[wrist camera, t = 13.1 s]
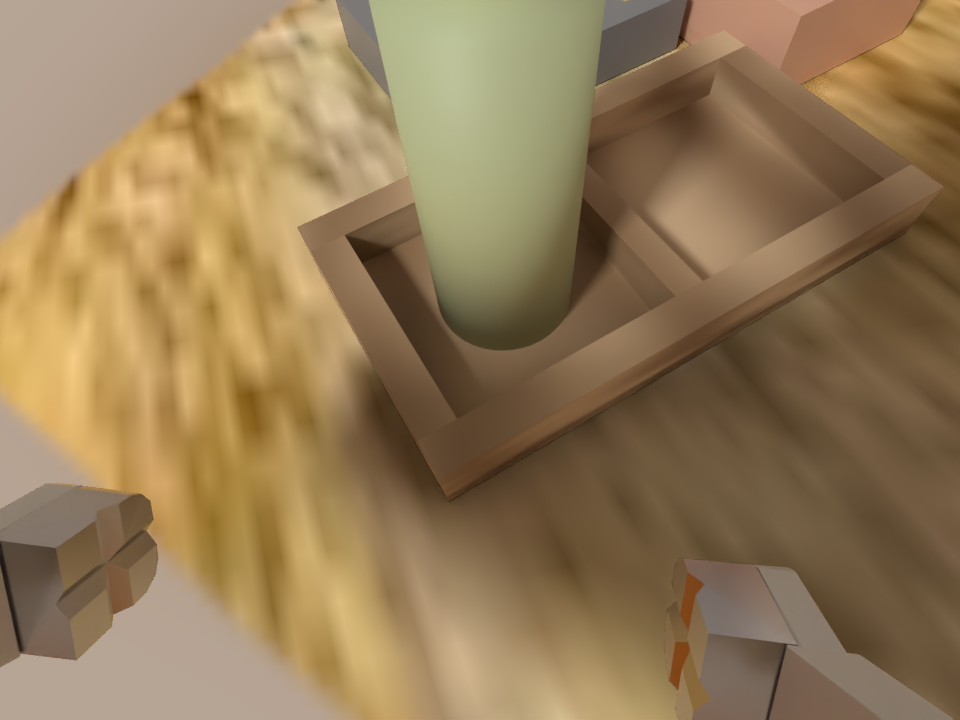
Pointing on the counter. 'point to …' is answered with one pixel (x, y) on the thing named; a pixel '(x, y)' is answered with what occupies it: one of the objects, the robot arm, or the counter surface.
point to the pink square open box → (800, 29)
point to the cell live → (495, 151)
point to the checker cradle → (624, 43)
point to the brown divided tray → (628, 254)
